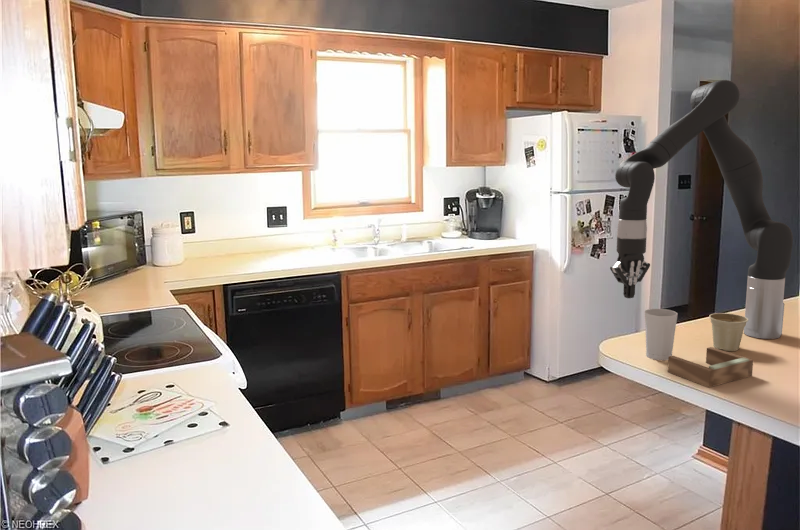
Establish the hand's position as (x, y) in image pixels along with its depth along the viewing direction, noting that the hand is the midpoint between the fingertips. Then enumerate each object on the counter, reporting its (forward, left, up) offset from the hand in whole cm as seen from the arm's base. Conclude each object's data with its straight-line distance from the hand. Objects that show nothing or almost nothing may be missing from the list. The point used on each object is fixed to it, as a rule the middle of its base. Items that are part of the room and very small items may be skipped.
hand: (628, 297), depth 170 cm
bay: (0, +26, -14) cm, 30 cm away
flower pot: (-21, +15, -14) cm, 29 cm away
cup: (0, +11, -14) cm, 18 cm away
